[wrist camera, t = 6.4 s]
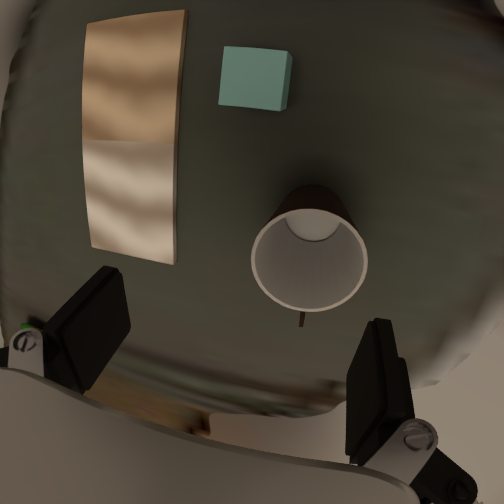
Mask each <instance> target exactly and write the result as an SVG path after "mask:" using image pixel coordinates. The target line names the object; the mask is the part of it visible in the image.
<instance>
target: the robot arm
mask: <svg viewBox="0 0 504 504" xmlns="http://www.w3.org/2000/svg"><path fill="white" fill-rule="evenodd" d="M130 328H131V323H130V318H129V312H128V307H127V301H126V295H125V289H124V283H123V276H122V274H121V273H120V272H119V270H118V269H117V268H114V267H110V266H103V267H102V268H100V269H99V270H98V271H97V272H96V273H95V274H94V275H93V276H92V277H91V278H90V279H89V280H88V281H87V282H86V283H85V284H84V285H83V286H82V287H81V288H80V289H79V290H78V291H77V292H76V293H75V294H74V295H73V296H72V297H71V298H70V299H69V300H68V301H67V302H66V303H65V304H64V305H63V306H62V307H61V308H60V309H59V310H58V311H57V312H56V313H55V314H54V315H53V317H52V318H51V319H50V320H49V321H48V322H47V323H46V324H45V325H44V326H43V329H44V330H43V332H42V333H40V331H39V330H37V329H34V328H25V329H22V330H20V331H18V332H17V333H16V334H15V335H13V337H12V338H11V340H10V344H9V346H8V347H4V348H0V504H483V503H482V502H480V503H478V501H477V500H476V497H477V493H478V489H477V484H476V482H475V480H474V479H473V478H472V477H471V476H470V475H469V474H468V473H467V472H465V471H464V470H463V469H461V467H459V466H458V465H457V464H456V463H454V462H453V461H452V460H451V459H450V458H448V457H447V456H446V455H445V454H444V453H443V452H441V451H440V450H439V449H438V448H437V444H438V435H437V432H436V430H435V429H434V427H433V426H432V425H431V424H430V423H428V422H427V421H425V420H422V419H418V418H416V419H415V413H414V406H413V400H412V394H411V388H410V382H409V376H408V371H407V366H406V362H405V359H404V358H400V357H398V353H397V348H396V343H395V337H394V333H393V328H392V323H391V320H388V319H381V318H375V319H374V320H373V321H369V322H368V324H367V326H366V329H365V331H364V334H363V336H362V339H361V341H360V344H359V346H358V349H357V351H356V353H355V356H354V358H353V360H352V363H351V365H350V367H349V370H348V373H347V379H346V444H345V446H346V447H345V454H346V455H349V456H350V462H349V463H350V464H343V463H335V462H329V461H321V460H314V459H306V458H300V457H293V456H287V455H281V454H275V453H269V452H264V451H259V450H254V449H248V448H244V447H240V446H235V445H231V444H226V443H222V442H218V441H214V440H210V439H206V438H203V437H199V436H195V435H192V434H188V433H185V432H181V431H178V430H175V429H172V428H168V427H165V426H162V425H159V424H156V423H153V422H150V421H147V420H144V419H142V418H139V417H136V416H133V415H131V414H128V413H125V412H123V411H120V410H117V409H115V408H112V407H110V406H107V405H105V404H102V403H100V402H98V401H95V400H93V399H91V398H88V397H86V396H84V395H83V394H84V392H85V391H86V390H89V389H90V388H91V387H92V385H93V384H94V382H95V381H96V379H97V378H98V376H99V375H100V374H101V372H102V371H103V369H104V368H105V366H106V365H107V363H108V362H109V360H110V359H111V357H112V356H113V355H114V353H115V352H116V350H117V349H118V347H119V346H120V344H121V343H122V342H123V340H124V339H125V337H126V336H127V334H128V333H129V331H130ZM351 464H358V466H356V465H351Z"/></svg>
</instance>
